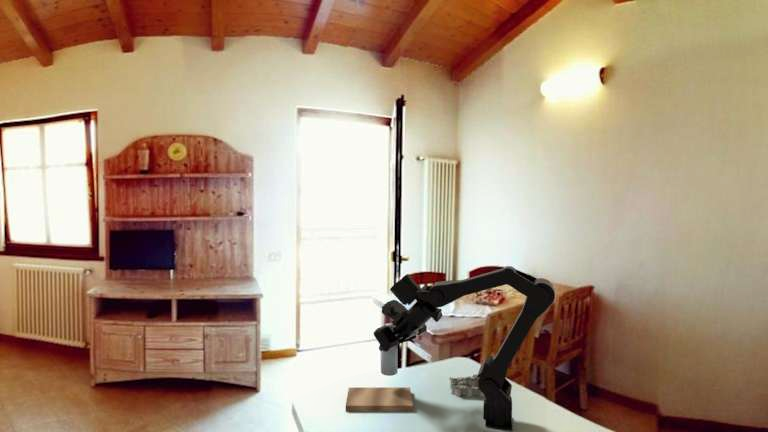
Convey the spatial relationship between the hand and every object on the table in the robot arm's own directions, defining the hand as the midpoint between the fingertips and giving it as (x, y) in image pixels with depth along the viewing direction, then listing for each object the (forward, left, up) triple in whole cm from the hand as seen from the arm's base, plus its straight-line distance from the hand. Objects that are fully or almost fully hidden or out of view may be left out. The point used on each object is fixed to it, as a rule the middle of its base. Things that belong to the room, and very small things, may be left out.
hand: (385, 346), depth 114 cm
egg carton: (-24, -7, -14) cm, 28 cm away
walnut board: (0, +6, -13) cm, 15 cm away
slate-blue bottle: (-1, +1, -7) cm, 7 cm away
